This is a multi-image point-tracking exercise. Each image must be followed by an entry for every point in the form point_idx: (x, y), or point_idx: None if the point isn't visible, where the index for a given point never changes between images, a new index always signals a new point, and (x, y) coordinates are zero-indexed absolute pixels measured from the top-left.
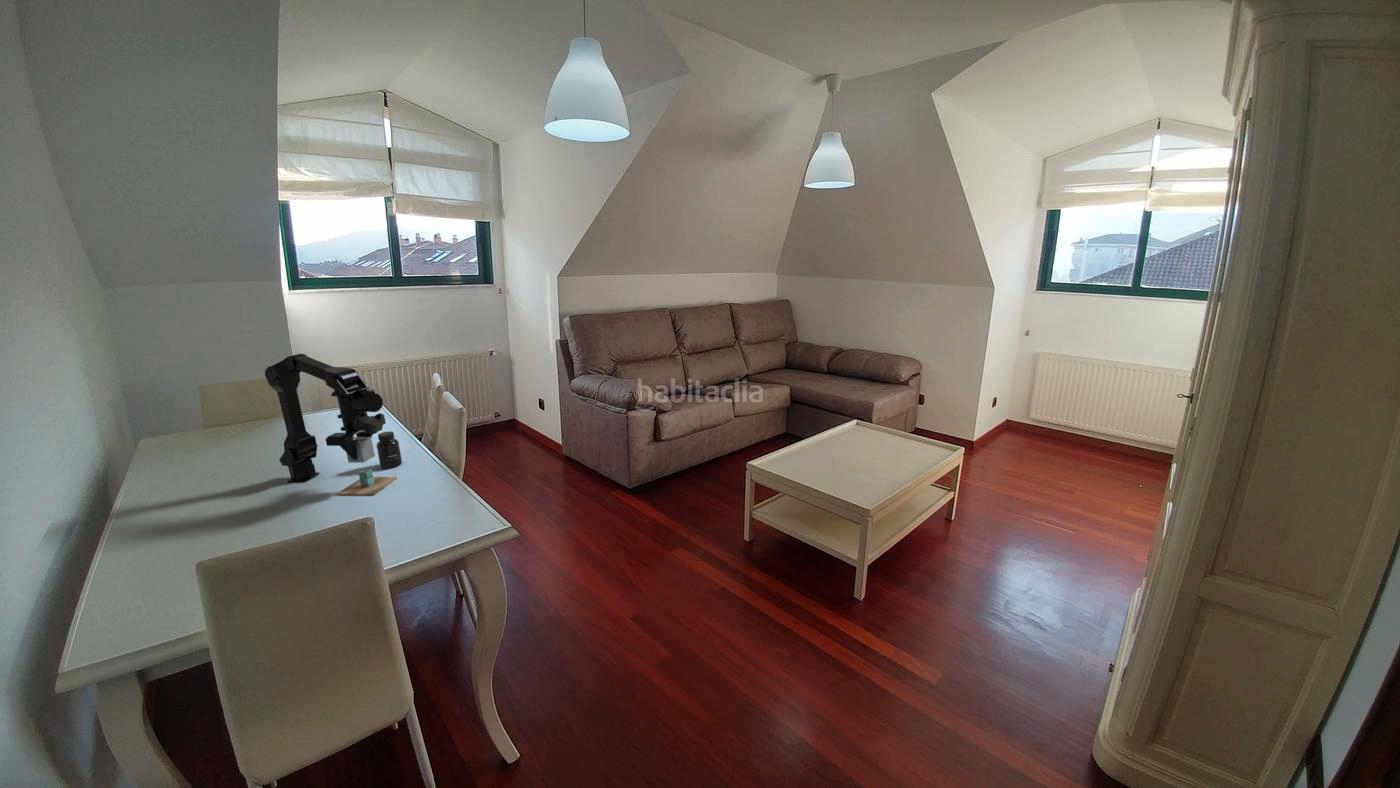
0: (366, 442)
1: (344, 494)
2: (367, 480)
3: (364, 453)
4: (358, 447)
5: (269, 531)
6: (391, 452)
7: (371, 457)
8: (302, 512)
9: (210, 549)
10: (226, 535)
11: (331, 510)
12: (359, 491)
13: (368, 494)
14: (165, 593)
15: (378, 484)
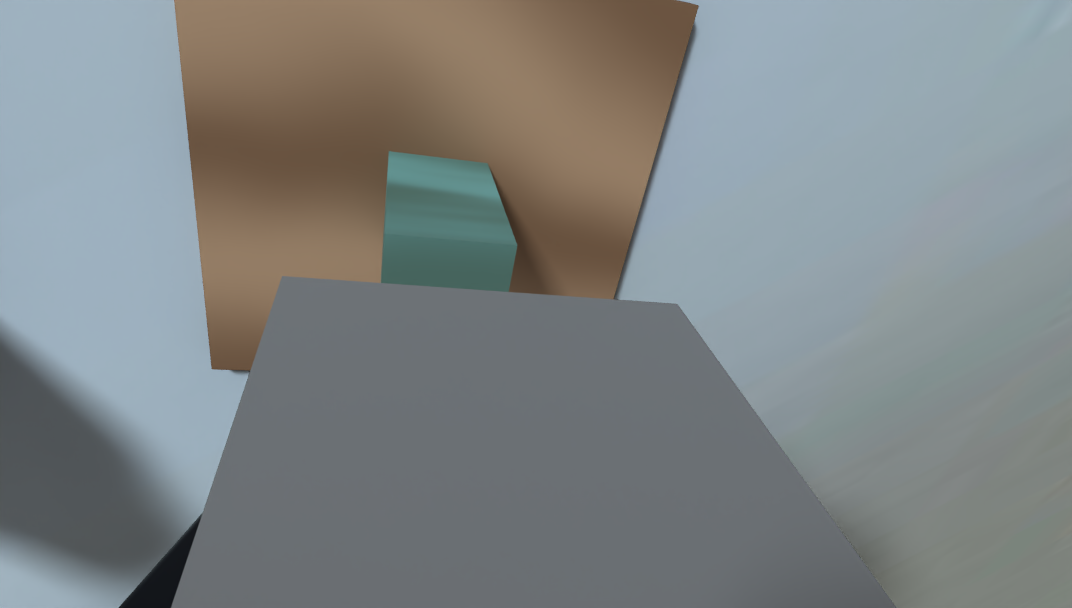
0: None
1: None
2: (496, 199)
3: (695, 439)
4: None
5: (995, 443)
6: None
7: (423, 295)
8: (815, 427)
9: (1036, 547)
10: (925, 576)
11: (875, 259)
12: (593, 208)
13: (671, 76)
14: None
15: (429, 78)
